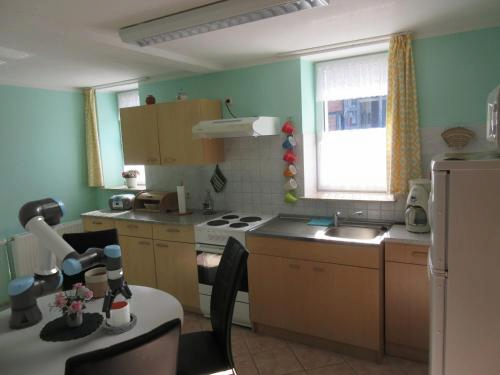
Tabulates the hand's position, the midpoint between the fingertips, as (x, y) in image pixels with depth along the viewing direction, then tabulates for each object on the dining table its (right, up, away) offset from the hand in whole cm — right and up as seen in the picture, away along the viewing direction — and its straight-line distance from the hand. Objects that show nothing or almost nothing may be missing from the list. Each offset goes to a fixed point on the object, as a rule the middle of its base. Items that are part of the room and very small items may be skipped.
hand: (119, 317), depth 186 cm
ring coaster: (0, -4, +1) cm, 4 cm away
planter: (-26, 0, +42) cm, 49 cm away
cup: (0, -4, +1) cm, 4 cm away
